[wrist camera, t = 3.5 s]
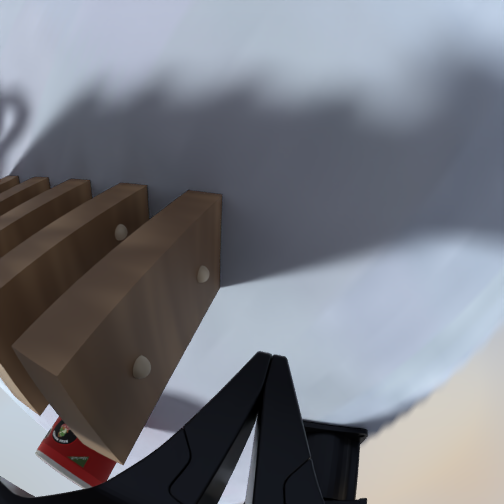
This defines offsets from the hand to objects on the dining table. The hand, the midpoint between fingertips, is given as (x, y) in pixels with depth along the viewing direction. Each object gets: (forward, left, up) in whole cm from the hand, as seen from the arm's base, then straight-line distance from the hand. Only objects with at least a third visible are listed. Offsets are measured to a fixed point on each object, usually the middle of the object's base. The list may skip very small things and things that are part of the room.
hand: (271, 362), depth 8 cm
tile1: (+4, 0, -6) cm, 7 cm away
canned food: (+17, +23, -6) cm, 29 cm away
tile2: (+8, 0, -6) cm, 10 cm away
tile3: (+12, 0, -6) cm, 13 cm away
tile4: (+16, 0, -6) cm, 17 cm away
